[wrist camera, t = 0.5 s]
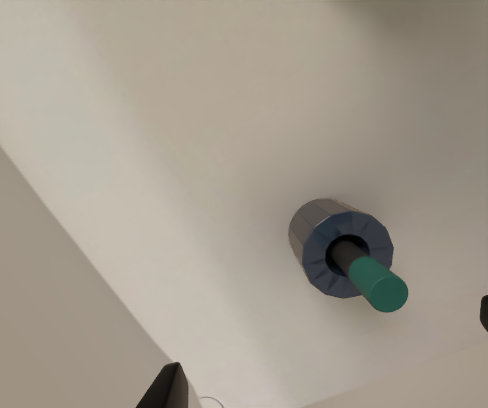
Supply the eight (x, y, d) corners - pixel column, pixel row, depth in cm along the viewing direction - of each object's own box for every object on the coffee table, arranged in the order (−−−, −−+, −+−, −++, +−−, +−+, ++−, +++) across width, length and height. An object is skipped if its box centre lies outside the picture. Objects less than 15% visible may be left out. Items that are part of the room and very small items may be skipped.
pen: (340, 229, 21) (416, 286, 12) (329, 248, 21) (395, 319, 12) (320, 219, 20) (382, 270, 11) (309, 239, 21) (362, 303, 12)
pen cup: (371, 216, 21) (411, 235, 16) (335, 277, 22) (362, 312, 17) (309, 185, 20) (331, 195, 16) (275, 248, 21) (286, 276, 16)
